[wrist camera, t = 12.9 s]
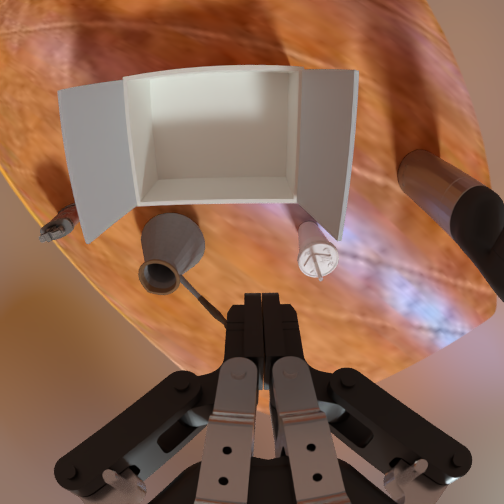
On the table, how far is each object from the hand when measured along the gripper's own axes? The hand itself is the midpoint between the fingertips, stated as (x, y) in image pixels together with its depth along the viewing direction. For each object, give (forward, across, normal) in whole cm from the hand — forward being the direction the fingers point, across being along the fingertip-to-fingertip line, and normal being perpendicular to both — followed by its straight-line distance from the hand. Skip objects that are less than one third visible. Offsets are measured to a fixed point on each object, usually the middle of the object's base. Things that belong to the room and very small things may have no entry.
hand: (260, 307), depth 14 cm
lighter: (+37, +34, +11) cm, 52 cm away
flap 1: (+21, +17, -2) cm, 27 cm away
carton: (+37, +5, -2) cm, 37 cm away
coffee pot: (+37, +10, +20) cm, 43 cm away
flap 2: (+21, -7, -2) cm, 23 cm away
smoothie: (+37, -10, +16) cm, 42 cm away
